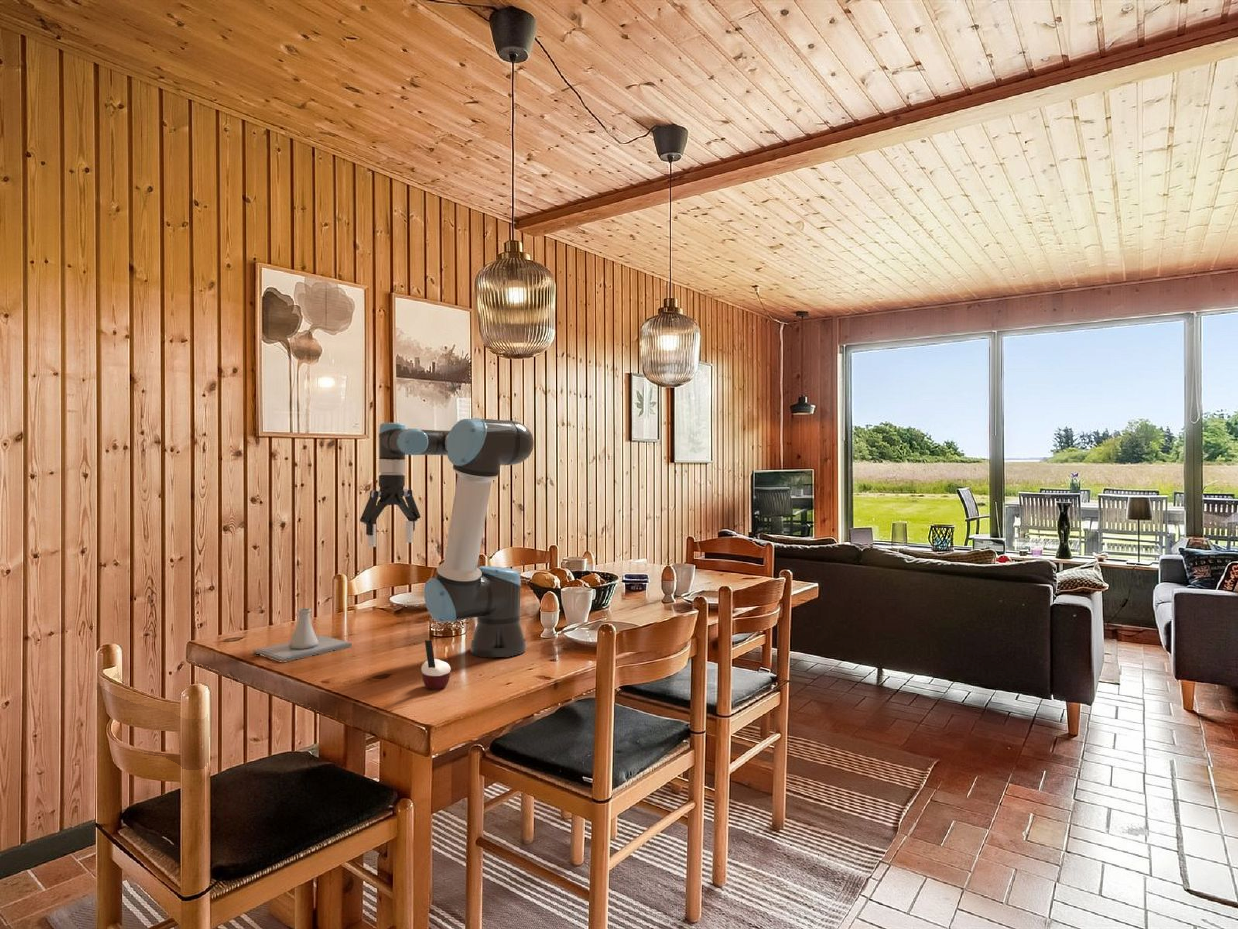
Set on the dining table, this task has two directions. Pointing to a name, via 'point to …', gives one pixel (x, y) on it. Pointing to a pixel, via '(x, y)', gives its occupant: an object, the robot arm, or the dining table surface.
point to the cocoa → (434, 670)
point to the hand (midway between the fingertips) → (391, 544)
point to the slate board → (288, 653)
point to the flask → (304, 632)
